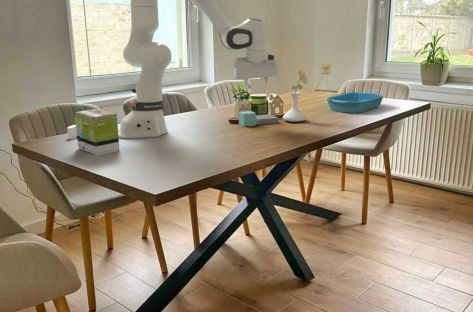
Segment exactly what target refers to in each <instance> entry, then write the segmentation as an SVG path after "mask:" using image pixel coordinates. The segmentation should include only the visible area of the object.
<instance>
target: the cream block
mask: <svg viewBox="0 0 473 312" xmlns="http://www.w3.org/2000/svg"><path fill="white" fill-rule="evenodd" d="M247 82H248V84H250V85H251V88H250V89H247V93H248V94H252V95H256V94H257V95H259V94H266V87H265V79H264V78H262V77H261V78H248V81H247Z"/></svg>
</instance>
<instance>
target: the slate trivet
mask: <svg viewBox="0 0 473 312" xmlns="http://www.w3.org/2000/svg"><path fill="white" fill-rule="evenodd" d="M278 123H279V117H277V116H274V115H272V114H269V113H268V114H258V115H257V114H256V125H270V124H278Z"/></svg>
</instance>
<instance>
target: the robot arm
mask: <svg viewBox="0 0 473 312" xmlns="http://www.w3.org/2000/svg"><path fill="white" fill-rule="evenodd" d="M158 2H159V1H158V0H130V19H131V25H130V26H131V28H130V34H129V35H130V36H129V39H128V42H127V44H126V45H125V47H124V48H123V51H122V53H123V55H122V56H123V59H124V61H125V62H126V63H127V64H128V65H130V66H132V67H135V68H141V71H140V75H139V78H138V79H137V80H136V81H135V95H136V97H135V98H136V100H135V101H133V100H132V101H130V102H129V105H130V106H131V109H132V110H131V111H130V112H129V113H128V114H127V115H125V116H124V117H123V118H121V122H120V127H119V128H120V129H118V136H119V139H139V138H140V139H141V138H155V137H156V138H158V137H159V136H162V135H164V134H167V133H168V132H169V131H168V128H167V124H166V121H165V115H164V114H165V102H164V100H163V77H164V73H165V71H166V68H167V67H168V66H170V63H171V61H172V52H171V48H169V46H168V45H166V44H164V43H162V42H161V43H160V42H156V41H153V40H154V39H153V38H154V35H155V33H156V31H157V30H158V28H159V26H160V25H159V24H160V23H159V3H158ZM190 2H191V4H193V5H194V6H195V7H196V8H197V9H198V10H199V11H200V12H201V13H203V15H205V16H206V17H207V19H209V21H210V23H211V24H212V25H213V27H214V28H215V29H216V30H217V32H218V34H219V38H220V41H221V44H222V46H224V47H225V49H228V50H233V51H238V50H242V49H245V56H244V57H237V58H235V59H234V60H233V67H234V69H233V77H234V78H235V79H236V80H243V82H244V83H245V84H246V85H245V86H246V88H245V89H247V90H248V89H250V88H251V85H250V84H248V82H247V81H248V79H254V78H261V79H262V78H263V79H265V88H267V82H268V81H269V78H273V77H277V76H278V74H279V68H278V67H279V66H278V63H277V61H276V60H277V56H276V55H275V54H272V53H269V52H266V44H265V43H266V39H267V37H266V25H265V23H264V21H262V20H260V19H257V18H247V19H246V20H244V21H242V23H240V24H238V25H236V26H235V25H233V24H231V23H230V21H228V19H227V18H226V16H225V15H224V13H223V12H222V10H221V9H220V7H219V4H218V0H190Z"/></svg>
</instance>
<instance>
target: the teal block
mask: <svg viewBox="0 0 473 312" xmlns="http://www.w3.org/2000/svg"><path fill="white" fill-rule="evenodd" d="M256 115H257V113H256V112H254V111H251V110H248V111H239V112H238V125H239V126H241V127H245V128H246V127H255V126H257V124H256Z"/></svg>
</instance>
